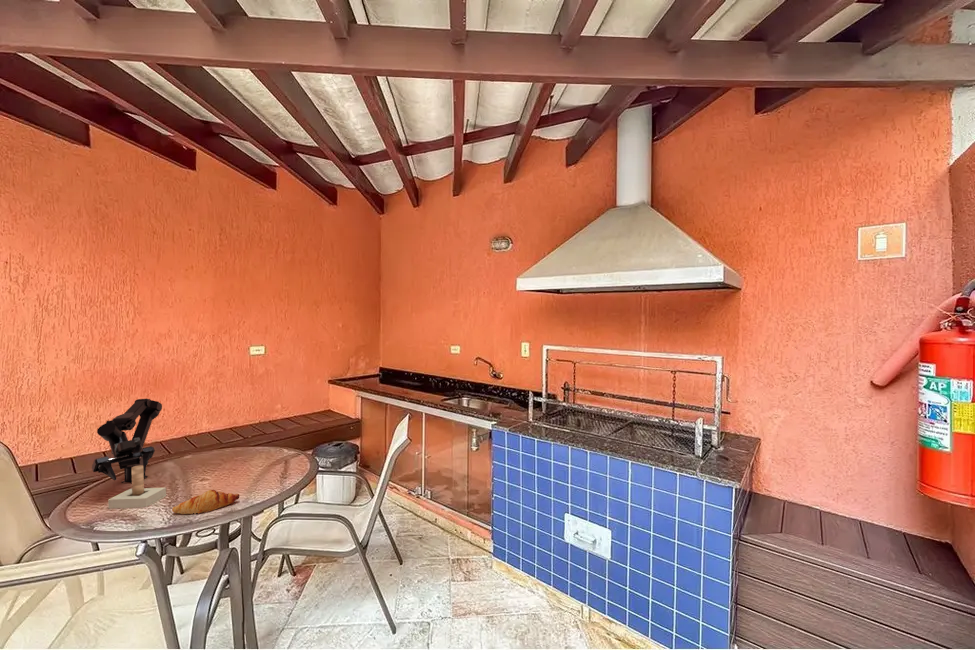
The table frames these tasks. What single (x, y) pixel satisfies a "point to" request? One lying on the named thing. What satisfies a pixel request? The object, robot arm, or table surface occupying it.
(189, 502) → the croissant
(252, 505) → the table surface
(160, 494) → the socket block
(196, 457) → the table surface
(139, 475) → the peg
